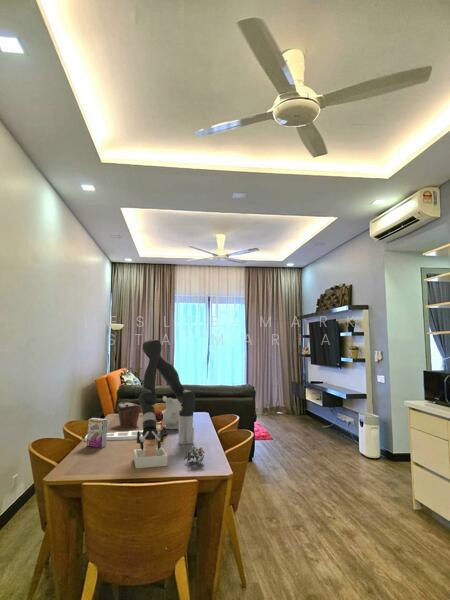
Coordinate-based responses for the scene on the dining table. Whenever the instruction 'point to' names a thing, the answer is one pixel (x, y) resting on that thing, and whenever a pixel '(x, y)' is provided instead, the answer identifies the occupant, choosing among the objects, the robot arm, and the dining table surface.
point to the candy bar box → (97, 432)
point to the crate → (150, 458)
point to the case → (128, 414)
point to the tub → (150, 450)
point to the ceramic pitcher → (171, 413)
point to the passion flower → (195, 454)
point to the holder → (122, 435)
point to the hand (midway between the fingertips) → (150, 449)
